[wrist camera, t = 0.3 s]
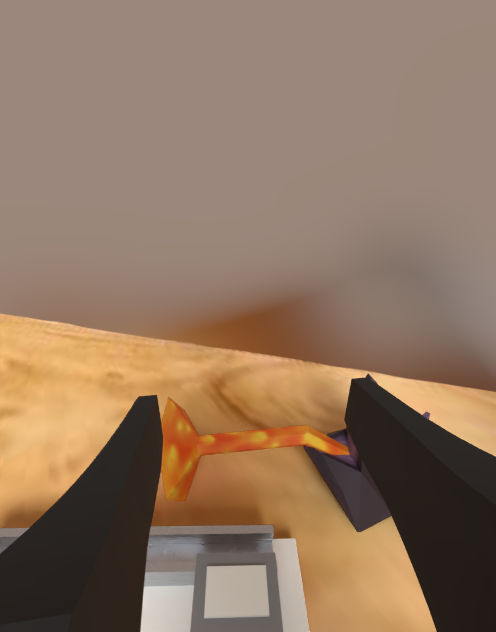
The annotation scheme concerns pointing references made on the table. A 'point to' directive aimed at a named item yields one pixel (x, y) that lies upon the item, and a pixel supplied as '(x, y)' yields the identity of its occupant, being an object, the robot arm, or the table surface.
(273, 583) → the mounted module
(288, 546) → the panel
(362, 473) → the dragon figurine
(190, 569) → the rail
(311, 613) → the table surface
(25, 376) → the table surface
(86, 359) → the table surface
